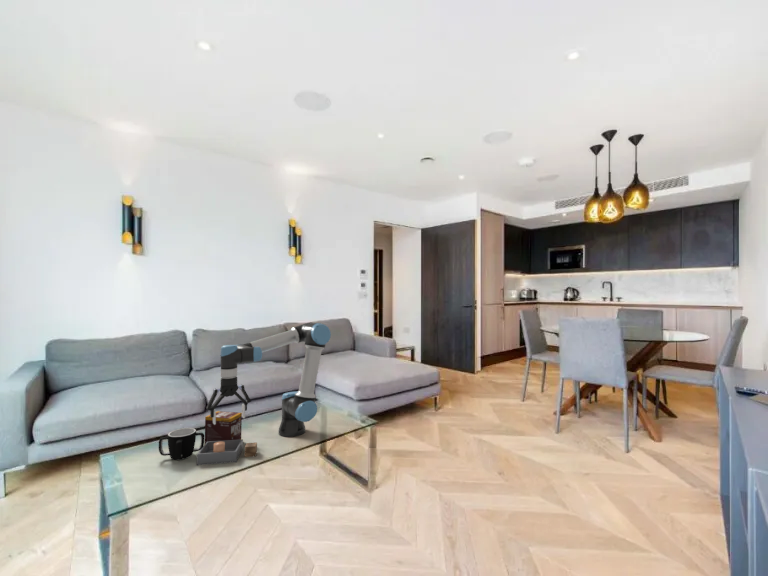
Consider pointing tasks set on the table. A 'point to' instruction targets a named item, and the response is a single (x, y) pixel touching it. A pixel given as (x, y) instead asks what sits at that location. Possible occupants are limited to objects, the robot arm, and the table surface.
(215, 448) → the terracotta canister
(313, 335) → the robot arm
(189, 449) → the mug
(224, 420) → the supplement box
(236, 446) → the tray
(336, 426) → the table surface
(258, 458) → the table surface
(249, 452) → the walnut cube
